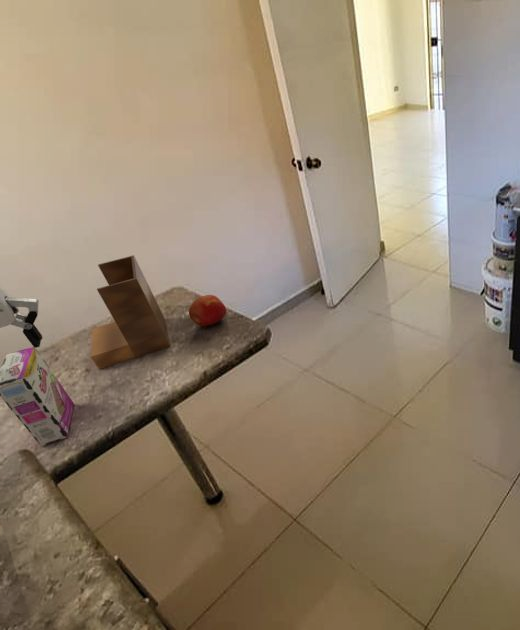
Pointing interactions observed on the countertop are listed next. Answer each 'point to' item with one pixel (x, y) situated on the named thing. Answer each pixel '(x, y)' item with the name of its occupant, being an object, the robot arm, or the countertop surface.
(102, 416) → the countertop surface
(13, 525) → the countertop surface
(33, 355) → the candy bar box
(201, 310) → the apple
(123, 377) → the countertop surface
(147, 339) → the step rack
